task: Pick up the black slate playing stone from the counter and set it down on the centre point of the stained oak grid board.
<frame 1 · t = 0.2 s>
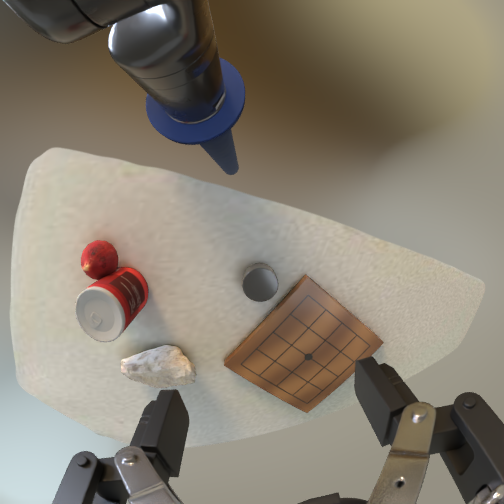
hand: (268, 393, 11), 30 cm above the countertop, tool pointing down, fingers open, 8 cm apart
stone: (162, 361, 44), on the countertop
canned food: (128, 288, 41), on the countertop
grid board: (306, 352, 44), on the countertop
black stone: (259, 278, 41), on the countertop
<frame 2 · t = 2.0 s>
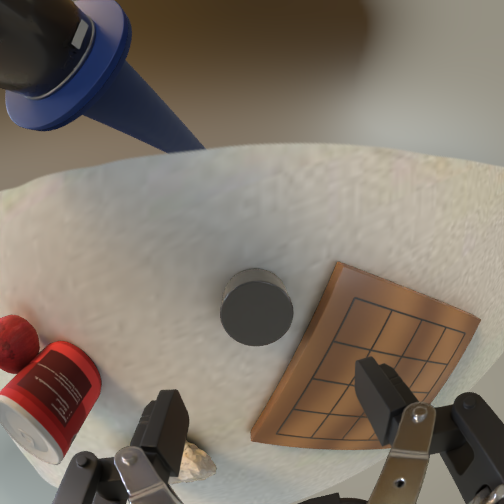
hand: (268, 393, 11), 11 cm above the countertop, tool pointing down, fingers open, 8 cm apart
stone: (165, 448, 26), on the countertop
canned food: (74, 369, 23), on the countertop
grid board: (375, 380, 24), on the countertop
black stone: (255, 299, 21), on the countertop
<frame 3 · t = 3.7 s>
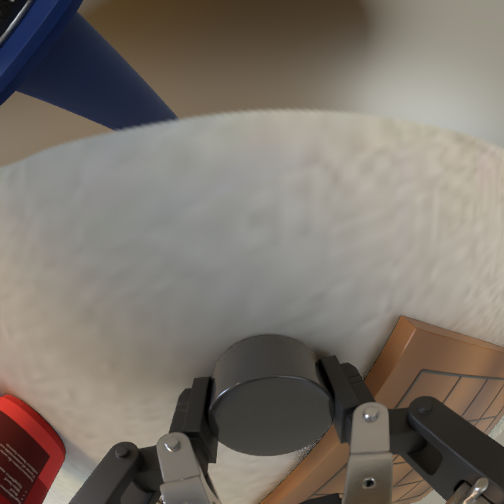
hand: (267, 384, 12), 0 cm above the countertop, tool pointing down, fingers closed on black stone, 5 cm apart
canned food: (33, 426, 13), on the countertop
grid board: (416, 447, 14), on the countertop
black stone: (267, 378, 12), on the countertop, touching gripper
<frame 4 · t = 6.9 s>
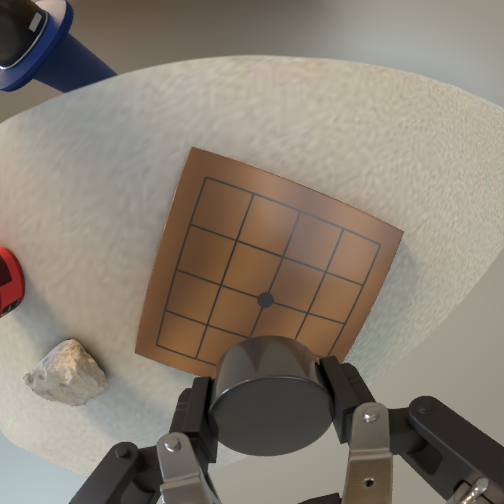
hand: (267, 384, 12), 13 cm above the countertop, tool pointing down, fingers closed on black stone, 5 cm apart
stone: (75, 367, 27), on the countertop
canned food: (9, 276, 24), on the countertop
grid board: (264, 293, 25), on the countertop
black stone: (267, 379, 12), point 13 cm above the countertop, touching gripper
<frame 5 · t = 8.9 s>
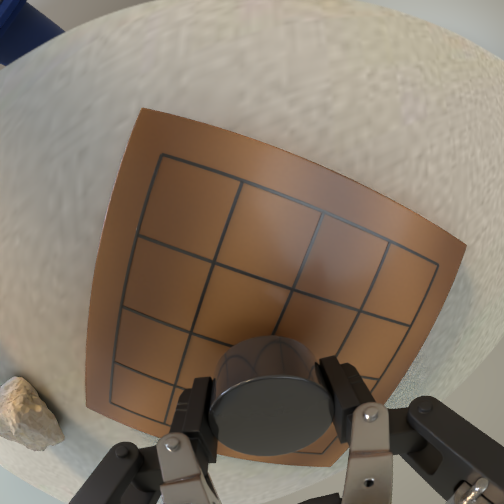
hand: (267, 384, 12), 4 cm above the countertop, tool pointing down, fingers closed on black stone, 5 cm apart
stone: (31, 406, 17), on the countertop
grid board: (261, 341, 15), on the countertop
black stone: (267, 379, 12), point 4 cm above the countertop, touching gripper
when the fingers open (2 cm above the countertop, at t = 10.0 s): black stone stays where it is, resting on grid board.
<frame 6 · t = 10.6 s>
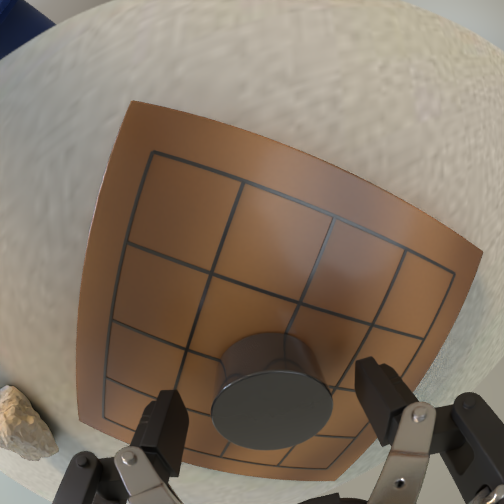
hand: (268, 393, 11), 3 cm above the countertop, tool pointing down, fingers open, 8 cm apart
stone: (25, 415, 16), on the countertop
grid board: (264, 356, 14), on the countertop
black stone: (267, 375, 12), point 2 cm above the countertop, touching grid board
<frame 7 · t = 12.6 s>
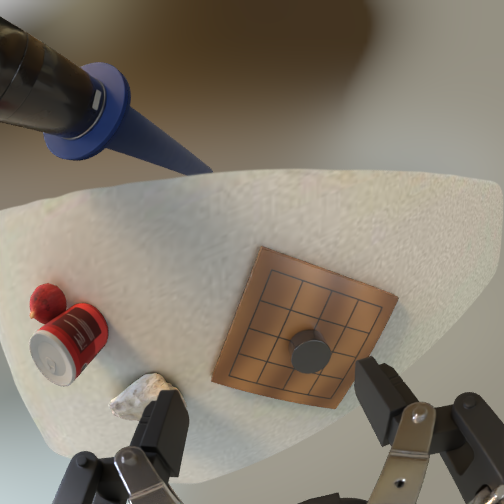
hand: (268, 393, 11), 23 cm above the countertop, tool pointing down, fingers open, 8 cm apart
stone: (151, 392, 38), on the countertop
canned food: (89, 325, 35), on the countertop
grid board: (304, 339, 36), on the countertop
black stone: (307, 345, 34), point 2 cm above the countertop, touching grid board
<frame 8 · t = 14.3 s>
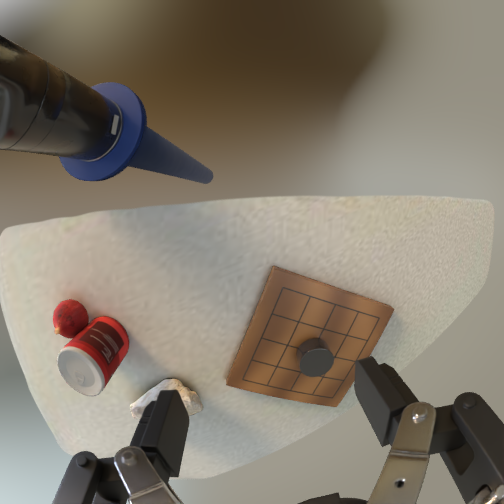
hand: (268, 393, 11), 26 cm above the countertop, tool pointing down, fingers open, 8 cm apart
stone: (169, 396, 41), on the countertop
canned food: (110, 336, 39), on the countertop
grid board: (309, 346, 39), on the countertop
black stone: (312, 352, 38), point 2 cm above the countertop, touching grid board
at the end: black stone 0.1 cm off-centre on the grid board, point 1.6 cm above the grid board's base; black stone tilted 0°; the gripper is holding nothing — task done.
